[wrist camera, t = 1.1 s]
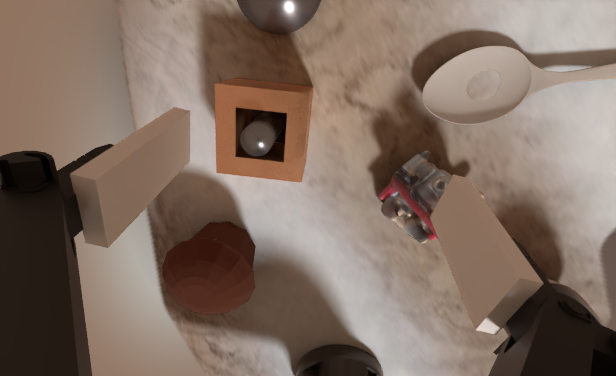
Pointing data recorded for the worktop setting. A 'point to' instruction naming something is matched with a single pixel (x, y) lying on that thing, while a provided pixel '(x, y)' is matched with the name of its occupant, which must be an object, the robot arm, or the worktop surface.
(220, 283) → the muffin
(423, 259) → the worktop surface
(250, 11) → the cylinder
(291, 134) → the collar
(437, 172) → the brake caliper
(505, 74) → the spoon
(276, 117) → the stand rod
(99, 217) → the robot arm
